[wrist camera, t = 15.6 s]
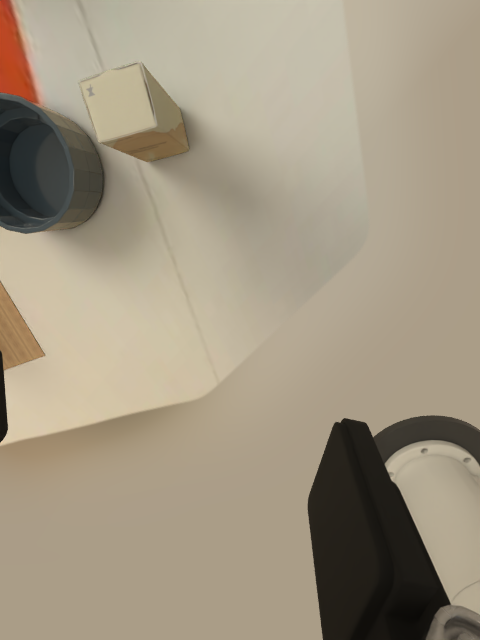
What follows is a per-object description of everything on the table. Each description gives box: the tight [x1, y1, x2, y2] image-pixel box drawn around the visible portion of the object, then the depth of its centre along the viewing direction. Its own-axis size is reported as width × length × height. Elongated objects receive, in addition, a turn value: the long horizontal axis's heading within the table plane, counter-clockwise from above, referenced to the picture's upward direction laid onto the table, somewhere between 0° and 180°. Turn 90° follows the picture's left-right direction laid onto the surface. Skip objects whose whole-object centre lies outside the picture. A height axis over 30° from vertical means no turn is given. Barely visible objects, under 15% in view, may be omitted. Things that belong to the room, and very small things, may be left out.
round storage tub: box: [0, 92, 103, 234], centre depth 34 cm, size 12×12×6 cm
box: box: [78, 61, 189, 162], centre depth 29 cm, size 5×4×11 cm
